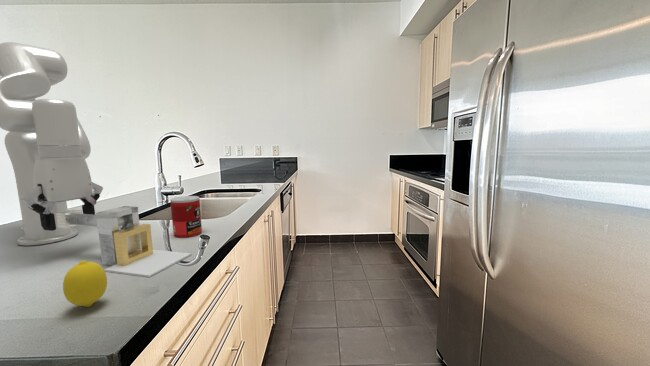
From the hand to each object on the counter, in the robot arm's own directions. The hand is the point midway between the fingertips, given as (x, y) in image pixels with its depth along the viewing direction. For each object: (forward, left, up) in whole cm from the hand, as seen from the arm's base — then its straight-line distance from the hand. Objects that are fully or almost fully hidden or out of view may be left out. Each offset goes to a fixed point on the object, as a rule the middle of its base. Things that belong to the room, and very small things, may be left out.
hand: (70, 224), depth 70 cm
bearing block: (+16, 0, -8) cm, 17 cm away
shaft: (+7, 0, 0) cm, 8 cm away
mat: (+24, 0, -8) cm, 25 cm away
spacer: (+19, 0, -3) cm, 20 cm away
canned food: (+17, +20, -8) cm, 27 cm away
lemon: (+29, -17, -8) cm, 34 cm away
